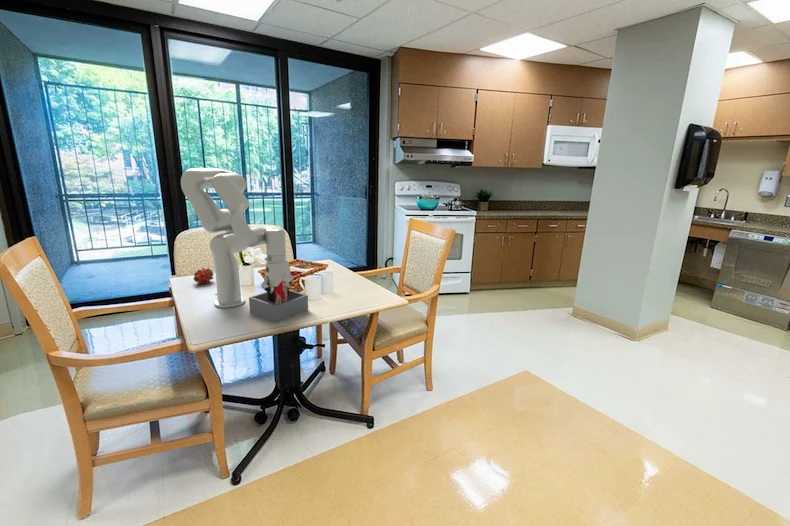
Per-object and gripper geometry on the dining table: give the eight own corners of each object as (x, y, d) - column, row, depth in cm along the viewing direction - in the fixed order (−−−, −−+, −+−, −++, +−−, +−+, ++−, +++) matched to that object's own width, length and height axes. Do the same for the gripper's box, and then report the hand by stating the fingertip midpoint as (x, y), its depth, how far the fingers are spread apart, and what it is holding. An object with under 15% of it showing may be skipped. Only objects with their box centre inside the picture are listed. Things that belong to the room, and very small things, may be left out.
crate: (250, 312, 154) (248, 297, 153) (282, 301, 168) (281, 287, 166) (276, 323, 145) (275, 306, 144) (308, 310, 159) (307, 295, 157)
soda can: (282, 309, 152) (281, 281, 149) (267, 307, 153) (265, 280, 150) (290, 303, 159) (289, 276, 156) (276, 301, 160) (274, 275, 157)
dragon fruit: (214, 282, 196) (198, 292, 185) (201, 272, 195) (185, 282, 185) (220, 271, 192) (204, 281, 181) (207, 261, 192) (190, 270, 181)
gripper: (264, 263, 142) (267, 306, 146) (299, 255, 156) (300, 294, 160) (252, 260, 146) (255, 302, 150) (287, 253, 160) (288, 291, 164)
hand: (278, 298), depth 155 cm, fingers closed on soda can, 7 cm apart
